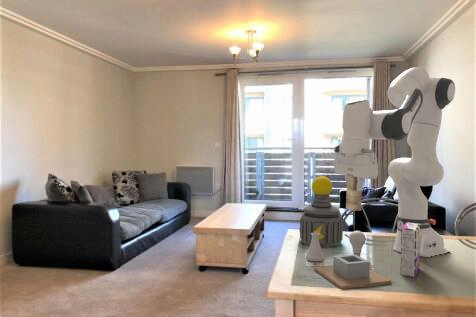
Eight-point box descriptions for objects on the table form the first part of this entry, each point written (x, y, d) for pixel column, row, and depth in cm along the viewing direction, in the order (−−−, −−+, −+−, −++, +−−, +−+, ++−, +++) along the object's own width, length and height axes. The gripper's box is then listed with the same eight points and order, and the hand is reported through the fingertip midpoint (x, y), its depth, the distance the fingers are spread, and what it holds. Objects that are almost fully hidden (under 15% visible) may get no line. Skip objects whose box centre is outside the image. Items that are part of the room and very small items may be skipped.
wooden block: (354, 208, 127) (356, 167, 127) (361, 210, 124) (362, 168, 123) (345, 208, 126) (347, 167, 126) (351, 210, 123) (353, 168, 122)
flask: (324, 262, 140) (325, 236, 140) (305, 261, 142) (305, 235, 141) (324, 257, 147) (324, 231, 147) (305, 255, 149) (305, 230, 148)
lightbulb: (345, 259, 145) (346, 230, 145) (353, 255, 150) (353, 228, 149) (360, 262, 141) (361, 233, 140) (367, 258, 145) (368, 231, 145)
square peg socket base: (358, 265, 137) (358, 249, 137) (391, 283, 120) (391, 265, 120) (314, 269, 132) (314, 253, 132) (341, 289, 115) (342, 270, 115)
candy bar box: (404, 265, 138) (405, 221, 137) (419, 268, 135) (420, 223, 134) (399, 275, 128) (400, 227, 128) (415, 277, 126) (417, 229, 125)
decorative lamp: (296, 246, 162) (298, 177, 161) (302, 235, 180) (303, 173, 179) (341, 250, 157) (343, 179, 156) (342, 239, 175) (344, 175, 174)
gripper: (384, 149, 115) (382, 194, 116) (346, 148, 135) (345, 186, 135) (366, 149, 113) (364, 194, 114) (331, 147, 133) (330, 186, 133)
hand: (354, 190), depth 125 cm, fingers closed on wooden block, 3 cm apart
